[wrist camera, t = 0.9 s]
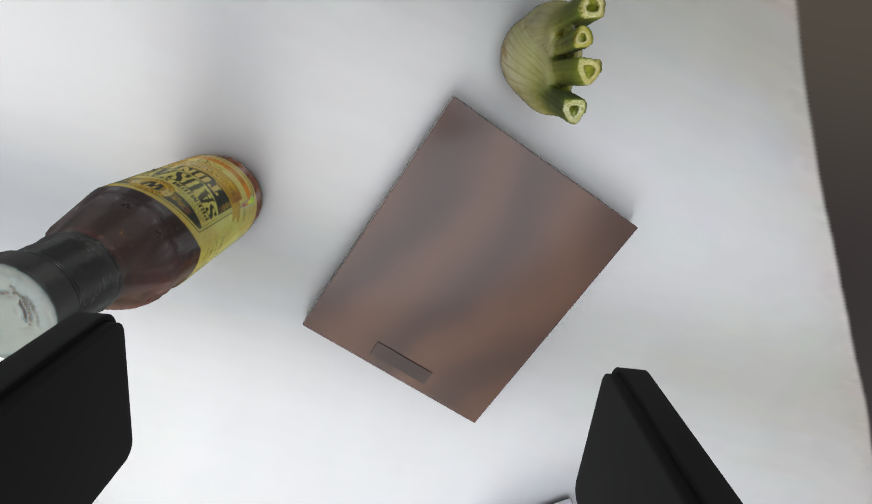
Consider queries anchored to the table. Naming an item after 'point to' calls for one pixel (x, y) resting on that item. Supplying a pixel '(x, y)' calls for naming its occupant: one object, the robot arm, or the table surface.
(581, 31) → the fennel bulb
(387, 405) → the table surface
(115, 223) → the sauce bottle
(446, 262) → the cutting board
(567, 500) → the charger
